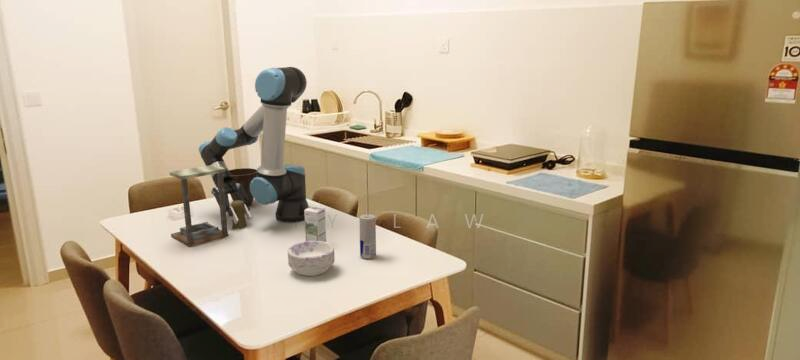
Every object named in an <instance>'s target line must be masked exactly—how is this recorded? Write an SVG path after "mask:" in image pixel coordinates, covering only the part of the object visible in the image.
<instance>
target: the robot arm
mask: <svg viewBox="0 0 800 360" xmlns="http://www.w3.org/2000/svg"><path fill="white" fill-rule="evenodd" d="M307 85H308V83H307V77H306V75H305V73H304V72H303V71H302V70H300V69H299V68H297V67H295V66H294V67H293V66H286V67H269V68H266V69H263V70H262V71H260V72H259V73H258V75H257V76H256V78H255V82H254V90H255V92H256V93H257V96H258V97H259V98H260V103H261V106H260V107H258V109H256V111H255V112H254V113H252V115H251V116H250V117H249V118H248V119H247V121H246V122H244V123H243V124H242V126H241V127H240V128H237V129H233V128H232V127H227V126H224V127H222V128H221V129H220V130H219V131H218V132H217V133H216V135H215V136H214V137H213V138H212V140H208V141H207V140H206V141H205V142H203V143H202V144H200V146H199V147H198V151H199V154H200V158H201V159H202V161H203V163H204V166H209V165H215V166H218V167H221V168H224V169H225V172H223V180H224V192H225V204H226V214H227V215H228V217H229V218H231V219H233V221H234V223H235V224H237V222H238V221H239V220H238V218H237V216H236V214H235V212H234V210H233V208H232V207H231V203H230V199H229V195H230V194H232V195H233V196H234V197H235V198H236V199H237V200H241V201H243V202H244V208H243V210H244V214H245V219H246V221H251V219H252V215H251V211H250V210H251V209H250V206H248V204H249V202H250V199H249V197H248V195H247V193H246V192H245V190H244V188H243V183H242V182H240V184H239V183H236V182H234V181H233V178H232V176H231V174H230V172H229V170H230V169H229V168H228V166H227V164H226V161H225V160H224V158H223V157H224V156H225V155H226V154H227V152H228V151H229V150H232V149H236V148H241V147H245V146H251V145H252V144H255V143H256V142H258V141H259V140H258V139H259V135H260V134H261V133H262V140H261V141H262V143H261V158H260V160H261V161H260V166H258V167H257V168H256V170H257V174H256V178H254V179H253V180H252V181H251V183H250V192H251V194H252V196H253V197H254V199H253V200H254V201H256V202H257V203H259V204H261V205H264V206H265V205H271V204H276V202H277V205H276V206H277V207H276V211H275V212H274V213H275V220H276V221H278V222H280V223H286V224H287V223H289V224H291V223H300V222H305V215H304V210H305V209H307V208H309V207H310V205H309V202H308V201H307V189H306V188H307V187H306V171H305V167H303V166H302V165H297V164H284V155H285V141H286V128H287V115H288V114H287V113H288V112H287V111H288V108H290V107H291V106H292V104H293V103H296V102H297V100H298V99H299V98H300V97H301V96H302V95H303V94H304V93H305V91H306V88H307ZM210 177H211V178H212V181H213V184H214V186H215V187H212V189H211V190H210V192H211V195H213V196H214V199H215V200H216V203H217V205H218V207H219V208H220V202H219V191H218V179H217V173H216V174H211V175H210ZM235 187H237V189H238V190H239V192H240V194H241V195H240V194H239V192H238V191H237V189H236V188H235ZM228 194H229V195H228Z"/></svg>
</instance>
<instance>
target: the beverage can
mask: <svg viewBox="0 0 800 360" xmlns="http://www.w3.org/2000/svg"><path fill="white" fill-rule="evenodd" d="M376 224H377V221H376V215H374V214H369V213H368V214H361V215H359V256H360V258H362V259H365V260H371V259H374V258H376V256H377V232H376V231H377V230H376V229H377V227H376V226H377V225H376Z"/></svg>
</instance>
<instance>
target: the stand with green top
mask: <svg viewBox="0 0 800 360" xmlns="http://www.w3.org/2000/svg"><path fill="white" fill-rule="evenodd" d="M223 172H225V169H224V168H221V167H218V166H215V165H209V166H206V165H203V166H198V167H191V168H186V169H179V170H173V171H169V176H172V177H173V178H176V179H177V180H180V184H181V194H182V203H183V205H182V206H183V214H184V221H185V222H184V223H185V226H182V227H180V228H179V231H177V232H173V233H170V236H171V238H173V239H174V240H176V241H177V242H179V243H182V244H183V245H184V246H186V247H188V248H192V247H195V246H199V245H202V244H206V242H207V243H210V242H214V241H218V240H221V239H222V240H223V239H225V238H229V237H230V235H229V231H228V229H229V227H228V218H227V212H226V204H225V192H224V180H223ZM216 173H217V179H218V192H219V202H220V207H219V211H220V223H221V224H220V225H221V229H220V228H219V226H215V225H213V224H211V223H209V222H208V221H204V222H200V223H196V224H192V215H191V214H192V213H191V208H190V207H191V206H190V197H189V186H188V179H194V178H198V177H204V176H211V174H216Z"/></svg>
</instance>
